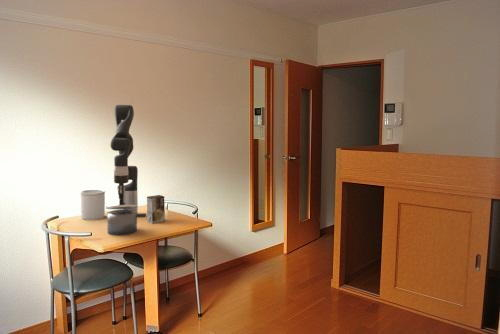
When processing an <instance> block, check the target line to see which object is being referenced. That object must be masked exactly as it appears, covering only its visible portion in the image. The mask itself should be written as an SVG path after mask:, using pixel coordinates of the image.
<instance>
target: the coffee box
mask: <svg viewBox="0 0 500 334" xmlns="http://www.w3.org/2000/svg"><path fill="white" fill-rule="evenodd" d="M146 211H147V213H146V218H147V221H146V222H147V223H150V224H156V223H161V222H165V217H166V215H165V196H163V195H161V194H157V195H150V196H146Z"/></svg>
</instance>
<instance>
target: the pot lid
mask: <svg viewBox="0 0 500 334" xmlns="http://www.w3.org/2000/svg"><path fill="white" fill-rule="evenodd" d="M134 208H139V205H125V203H124V205H119V204H113V205H112V204H111V205H106V206H105V210H122V209H134Z"/></svg>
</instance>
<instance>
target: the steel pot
mask: <svg viewBox="0 0 500 334" xmlns="http://www.w3.org/2000/svg"><path fill="white" fill-rule="evenodd" d="M106 215H107V216H106V218H107V219H106V221H107V225H106V226H107V234H108V235H110V236H129V235H132V234H136V233H137V232H138V218H147V213H145V212H143V213H142V212H140V213H139V212H138V214H137V211H135V210H128V209H112V210H110V211H107V213H106Z"/></svg>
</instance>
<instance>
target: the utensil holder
mask: <svg viewBox="0 0 500 334" xmlns="http://www.w3.org/2000/svg"><path fill="white" fill-rule="evenodd" d="M79 192H80V193H79V194H80V210H81V219H82V220H87V221H94V220H95V221H96V220H100V219H104V218H105V215H106V214H105V211H106V206H105V203H106V202H105V201H106V200H105V195H106V194H105V193H106V190H105V189H103V188H88V189H82V190H80V191H79Z"/></svg>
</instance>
